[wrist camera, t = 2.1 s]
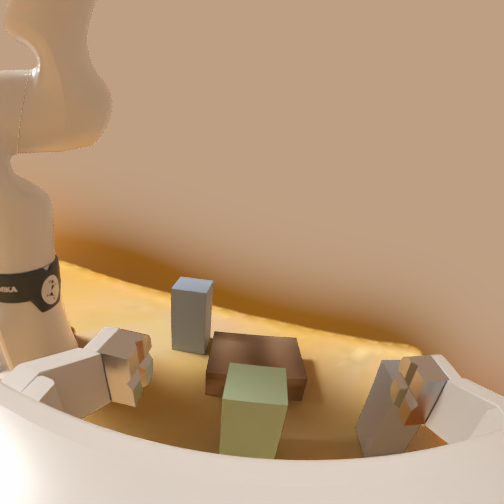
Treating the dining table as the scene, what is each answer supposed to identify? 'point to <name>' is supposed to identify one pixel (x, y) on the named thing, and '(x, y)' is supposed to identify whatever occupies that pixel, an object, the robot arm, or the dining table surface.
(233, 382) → the green block
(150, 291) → the dining table surface
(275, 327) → the dining table surface
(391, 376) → the grey block
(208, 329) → the blue block
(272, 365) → the walnut brick
